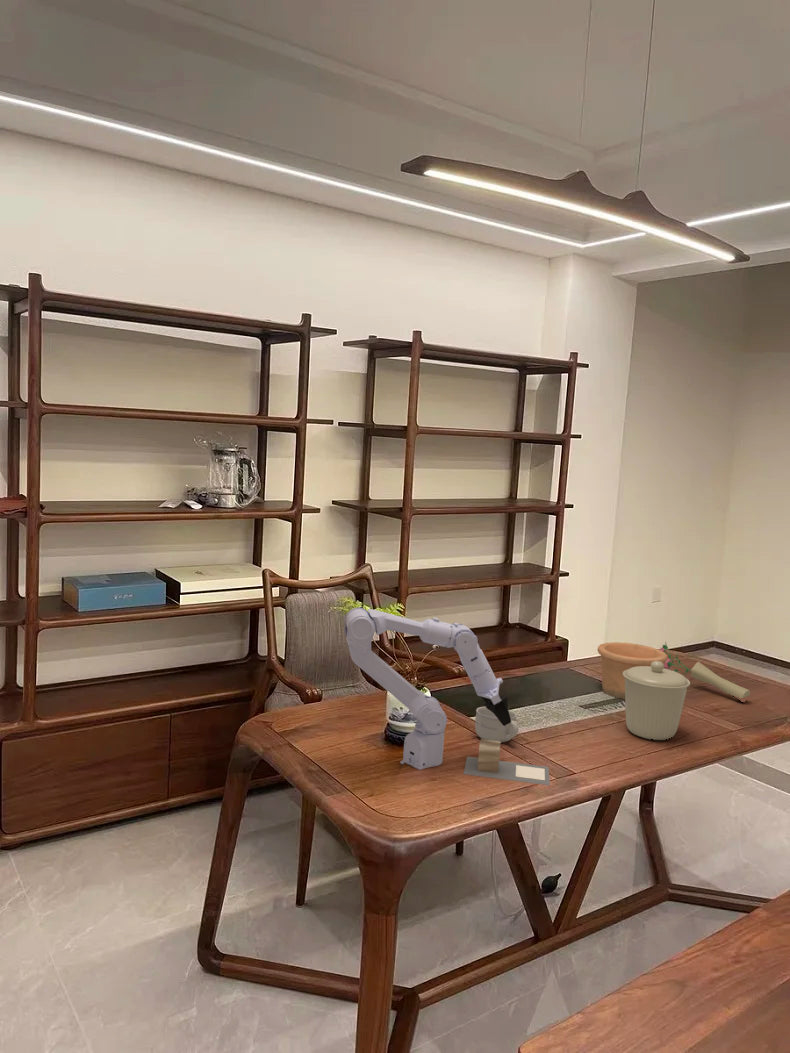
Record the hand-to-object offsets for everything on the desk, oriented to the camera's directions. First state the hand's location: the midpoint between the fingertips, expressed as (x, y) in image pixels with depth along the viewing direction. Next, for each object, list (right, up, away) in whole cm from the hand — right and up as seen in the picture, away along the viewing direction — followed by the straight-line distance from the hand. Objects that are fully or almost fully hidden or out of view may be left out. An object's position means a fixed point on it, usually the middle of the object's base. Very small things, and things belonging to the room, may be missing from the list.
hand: (503, 718), depth 197 cm
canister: (+46, -12, +31) cm, 56 cm away
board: (0, -12, -4) cm, 13 cm away
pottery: (+50, -8, +68) cm, 85 cm away
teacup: (+1, -11, +16) cm, 19 cm away
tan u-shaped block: (-4, -11, -4) cm, 12 cm away
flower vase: (+77, -9, +79) cm, 111 cm away
